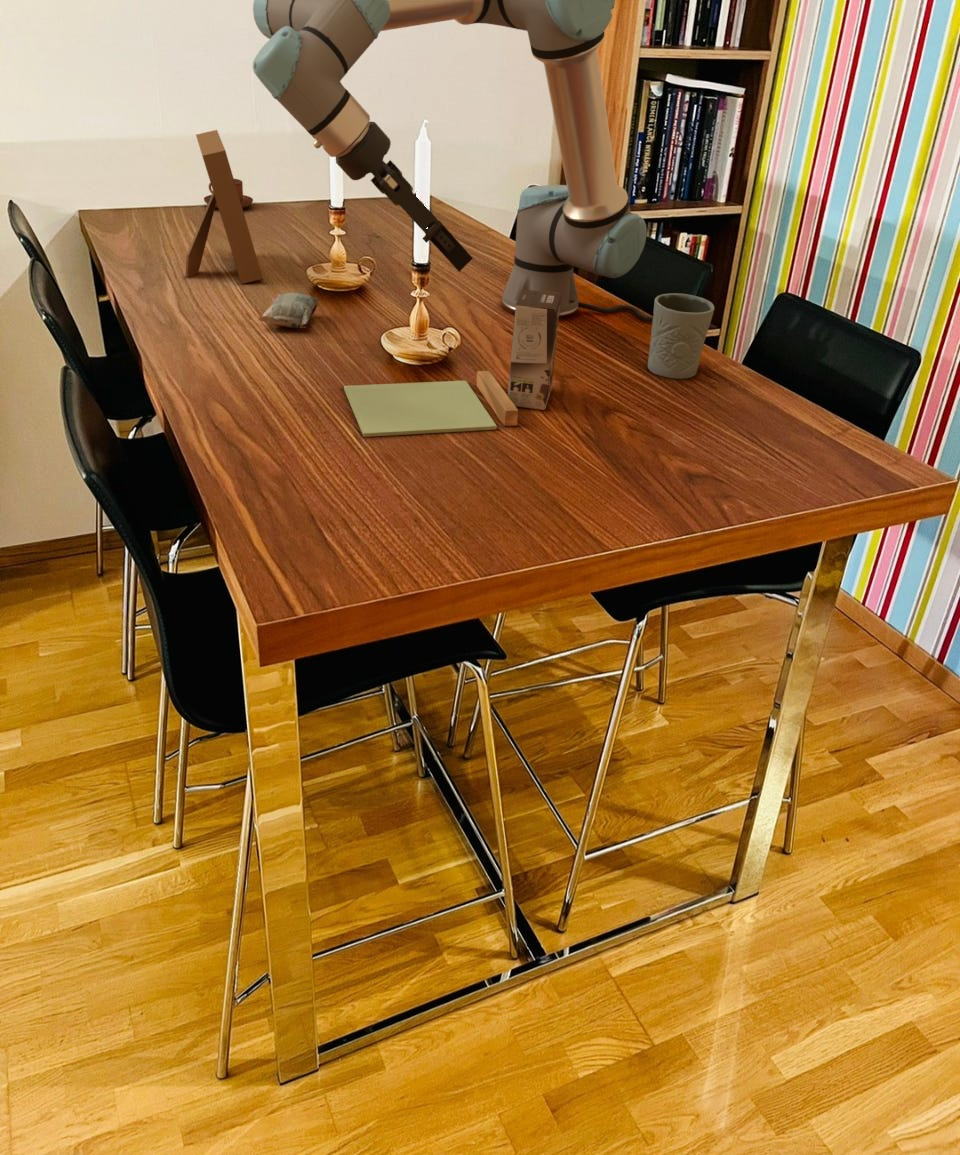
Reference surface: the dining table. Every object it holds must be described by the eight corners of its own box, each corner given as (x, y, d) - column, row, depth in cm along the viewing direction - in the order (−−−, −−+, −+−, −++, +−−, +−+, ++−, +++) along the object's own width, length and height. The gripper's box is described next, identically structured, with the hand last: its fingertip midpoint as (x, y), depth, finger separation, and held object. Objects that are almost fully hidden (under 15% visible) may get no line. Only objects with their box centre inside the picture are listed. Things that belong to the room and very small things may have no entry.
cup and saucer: (196, 209, 249) (194, 183, 246) (215, 199, 259) (213, 174, 256) (243, 214, 248) (241, 188, 244) (260, 204, 258) (258, 179, 254)
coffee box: (546, 411, 157) (557, 309, 148) (505, 406, 157) (513, 304, 149) (552, 389, 164) (563, 291, 156) (513, 384, 165) (522, 287, 156)
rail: (488, 385, 164) (489, 370, 163) (517, 425, 151) (518, 410, 150) (476, 385, 164) (477, 371, 162) (504, 426, 151) (505, 410, 149)
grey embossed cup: (666, 355, 181) (678, 289, 175) (713, 372, 176) (727, 305, 169) (632, 367, 175) (642, 299, 169) (679, 385, 169) (691, 316, 163)
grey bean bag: (259, 331, 178) (258, 304, 176) (273, 310, 188) (272, 284, 186) (308, 335, 178) (308, 308, 176) (319, 315, 188) (319, 288, 186)
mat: (465, 383, 164) (466, 380, 164) (496, 429, 150) (496, 425, 149) (343, 389, 159) (343, 385, 158) (363, 437, 144) (363, 433, 144)
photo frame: (252, 253, 219) (245, 130, 206) (263, 283, 202) (256, 150, 189) (182, 254, 215) (169, 128, 202) (186, 285, 198) (174, 149, 185)
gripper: (320, 143, 147) (417, 247, 159) (347, 179, 127) (456, 295, 139) (357, 104, 146) (452, 212, 157) (389, 135, 126) (495, 256, 137)
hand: (454, 251), depth 148 cm, fingers open, 13 cm apart
